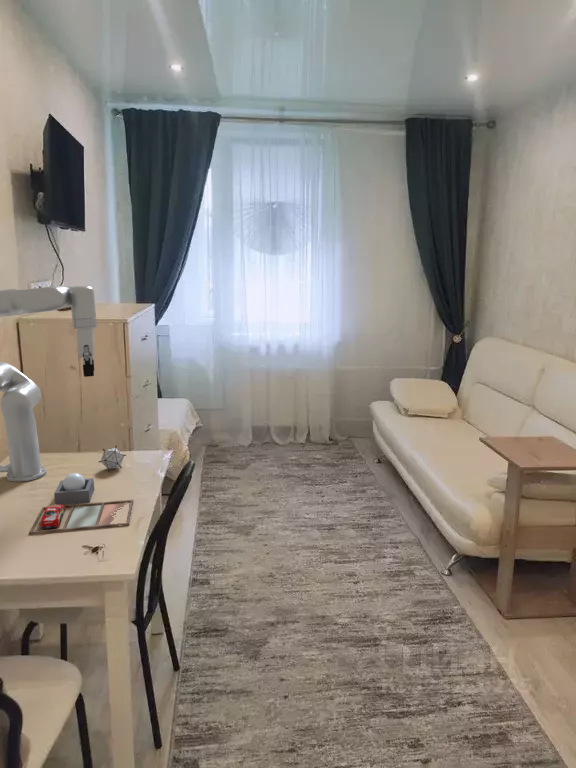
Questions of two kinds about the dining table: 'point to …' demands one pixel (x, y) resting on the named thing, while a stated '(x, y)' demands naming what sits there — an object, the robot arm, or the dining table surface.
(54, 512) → the race car
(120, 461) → the game die
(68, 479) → the dome
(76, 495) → the base
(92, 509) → the brown divided frame
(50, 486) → the dining table surface
